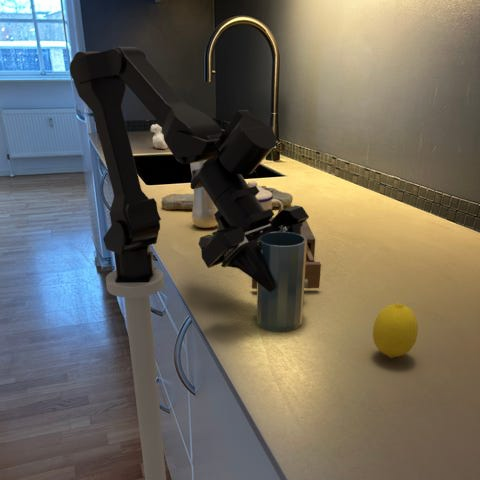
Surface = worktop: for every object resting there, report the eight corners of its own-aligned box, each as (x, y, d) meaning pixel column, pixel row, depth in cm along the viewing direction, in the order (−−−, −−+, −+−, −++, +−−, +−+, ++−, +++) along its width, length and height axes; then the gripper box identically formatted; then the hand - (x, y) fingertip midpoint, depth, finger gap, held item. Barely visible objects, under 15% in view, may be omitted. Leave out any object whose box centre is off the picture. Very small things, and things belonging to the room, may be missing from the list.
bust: (160, 151, 233) (143, 131, 228) (173, 140, 231) (156, 119, 226) (160, 155, 222) (142, 134, 217) (173, 144, 221) (156, 122, 216)
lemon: (361, 357, 68) (368, 303, 64) (383, 343, 72) (391, 290, 68) (398, 373, 65) (408, 317, 61) (420, 357, 68) (430, 303, 64)
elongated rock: (164, 207, 141) (161, 219, 133) (161, 188, 139) (158, 199, 130) (289, 198, 142) (295, 210, 134) (289, 179, 140) (295, 190, 131)
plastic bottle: (208, 221, 125) (206, 135, 116) (225, 227, 121) (224, 138, 111) (186, 226, 122) (182, 137, 112) (203, 232, 117) (200, 141, 108)
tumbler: (257, 331, 75) (259, 246, 69) (255, 311, 81) (256, 231, 75) (304, 331, 75) (309, 246, 69) (298, 311, 81) (303, 231, 75)
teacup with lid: (240, 241, 111) (239, 187, 106) (226, 230, 119) (225, 179, 113) (290, 235, 115) (292, 183, 109) (274, 224, 122) (275, 175, 117)
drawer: (323, 298, 83) (325, 274, 81) (253, 299, 82) (253, 274, 80) (308, 260, 98) (309, 238, 97) (249, 260, 98) (249, 239, 96)
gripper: (243, 213, 87) (293, 289, 86) (160, 239, 75) (216, 328, 74) (282, 172, 79) (337, 255, 78) (195, 193, 67) (258, 293, 65)
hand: (288, 283), depth 74 cm, fingers closed on tumbler, 7 cm apart
